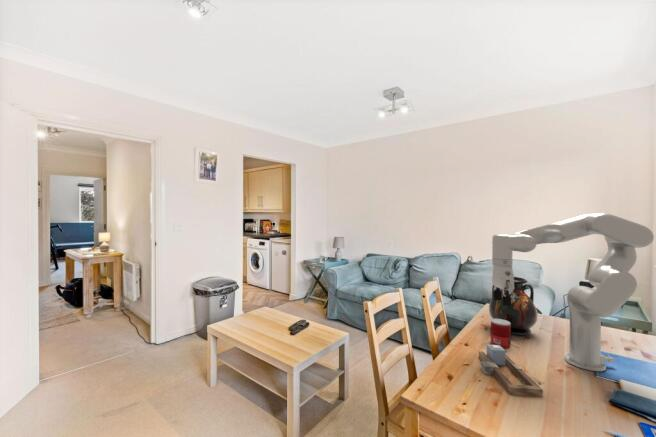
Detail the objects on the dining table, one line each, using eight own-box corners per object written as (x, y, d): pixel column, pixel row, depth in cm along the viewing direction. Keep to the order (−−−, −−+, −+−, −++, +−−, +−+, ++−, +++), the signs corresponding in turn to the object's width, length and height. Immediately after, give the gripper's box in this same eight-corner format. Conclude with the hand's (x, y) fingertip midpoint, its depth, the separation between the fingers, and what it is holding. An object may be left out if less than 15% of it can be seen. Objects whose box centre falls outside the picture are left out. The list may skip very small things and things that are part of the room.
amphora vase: (494, 336, 141) (495, 281, 141) (484, 321, 162) (484, 273, 162) (545, 342, 135) (545, 284, 135) (527, 326, 155) (528, 275, 155)
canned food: (513, 349, 128) (513, 325, 128) (494, 347, 129) (494, 323, 129) (506, 341, 135) (506, 319, 135) (488, 340, 137) (488, 317, 137)
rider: (499, 359, 118) (499, 344, 118) (505, 365, 113) (505, 349, 113) (486, 358, 118) (486, 343, 118) (492, 364, 113) (492, 348, 113)
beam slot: (504, 358, 119) (504, 351, 119) (542, 396, 93) (542, 387, 93) (471, 356, 121) (471, 349, 121) (500, 393, 95) (500, 384, 95)
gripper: (522, 266, 114) (522, 309, 114) (501, 259, 131) (501, 297, 131) (502, 265, 115) (502, 308, 115) (484, 259, 132) (484, 297, 132)
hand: (502, 302), depth 123 cm, fingers open, 7 cm apart
